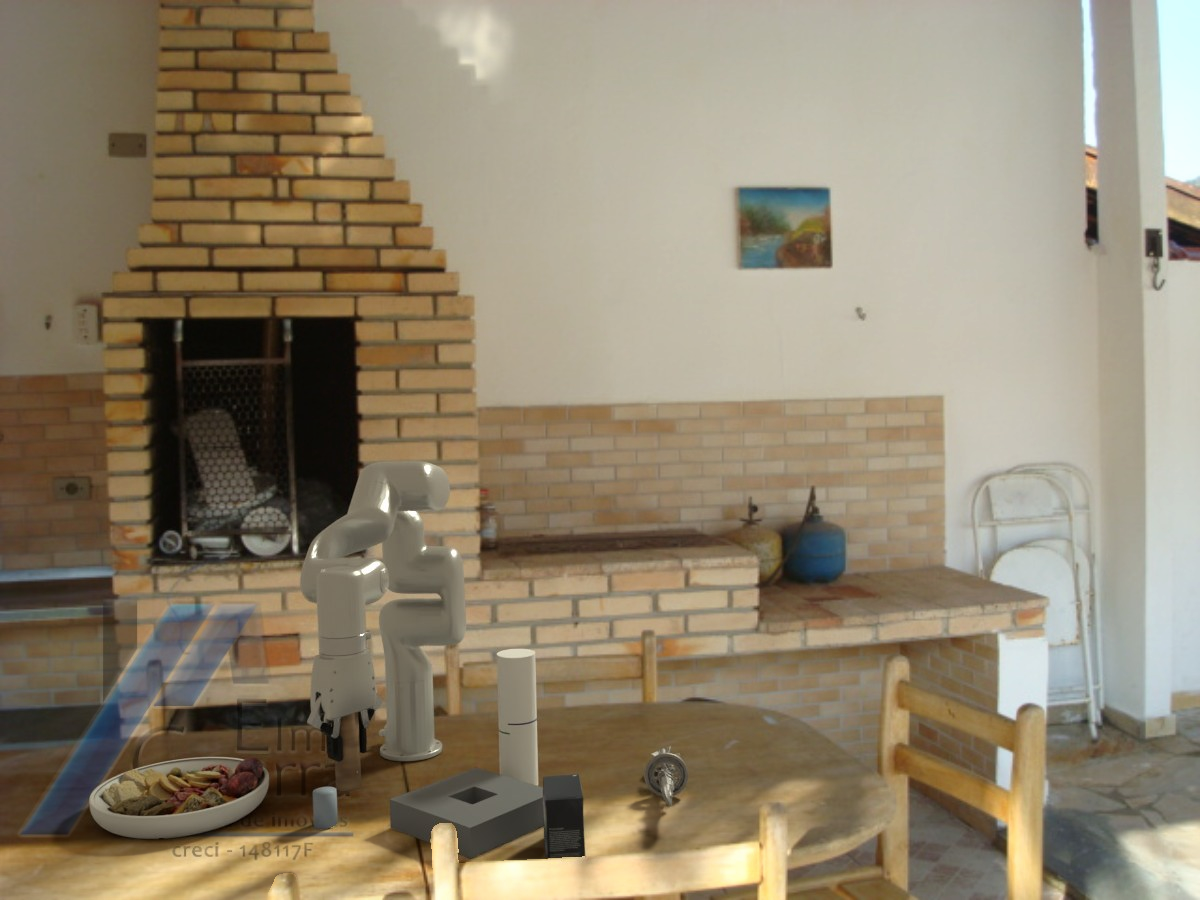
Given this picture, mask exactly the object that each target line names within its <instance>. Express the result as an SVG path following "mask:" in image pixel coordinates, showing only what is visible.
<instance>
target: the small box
mask: <svg viewBox="0 0 1200 900" xmlns="http://www.w3.org/2000/svg"><path fill="white" fill-rule="evenodd" d="M542 787H543V824H544V826H543V837H544V846H545V847H544V848H545V857H546V859H547V858H562V857H582V856H585V857H586V842H585V841H586V840H585V823H584V821H585V819H584V794H583V793H584V792H583V787H582V782H581V777H580V774H578V773H577V774H576V773H575V774H562V775H559V774H558V775H548V776H546V775H545V776H543V777H542Z"/></svg>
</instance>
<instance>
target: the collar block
mask: <svg viewBox="0 0 1200 900" xmlns="http://www.w3.org/2000/svg"><path fill="white" fill-rule="evenodd" d="M389 819H390V829H392V830H394V831H397V832H399V833H403V834H406V835H408V836H410V837H414V838H415V839H419V840H421V841H423V842H426V843H428V844H431V843H430V839H431V831H432V829H433V827H434V826H435V825H437V824H439V823H452V824H453V825H454V826H455V828H456V831H457V838H458V849H459V854H458V855H460V856H463V857H466V858H469V859H473V858H475V857H478V856H480V855H483V854H484V853H486V852H489V851H491V850H493V849H496V848H498V847H500V846H502V845H504V844H506V843H509V842H512V841H513V840H515V839H518V838H520V837H522V836H525V835H527V834H528V833H531V832H533V831H536V830H537V829H540V828H542V827H544V824H543V786H539V785H538V786H537V785H533V784H530V783H527V782H523V781H520V780H517V779H513V778H510V777H507V776H503V775H500V773H496V772H495V771H494V772H493V771H491V770H490V771H489V770H486V769H484V768H479V767H473V768H470V769H467V770H465V771H462V772H459V773H457V774H455V775H451V776H449V777H446V778H444V779H441V780H438V781H435V782H433V783H429V784H428V785H424V786H422V787H419V788H417V789H414V790H411V791H408V792H405V793H403V794H400V795H398V796H395V797H392V798H390V799H389Z"/></svg>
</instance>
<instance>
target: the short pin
mask: <svg viewBox="0 0 1200 900" xmlns="http://www.w3.org/2000/svg"><path fill="white" fill-rule="evenodd" d="M312 810H313V811H312V812H313V828H314V829H316V830H320V829H326V830H329V829H328V828H331V827H333V826H335V825H336V824H337V822H339V821H338V815H339V814H338V793H337V789H336V787H333V786H322V787H318V788H315V789H313V791H312ZM331 829H332V828H331Z"/></svg>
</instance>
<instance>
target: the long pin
mask: <svg viewBox="0 0 1200 900" xmlns="http://www.w3.org/2000/svg"><path fill="white" fill-rule="evenodd" d="M339 736H340V737H342V745H343V760H342V761H340V762H338V761H335V760H334V768H335V771H334V772H335V788H336V789H337V790H338V791H341V792H352V791H355V790H357V789H360V788H361V787H362V772H361V771H362V770H361V767H362V765H361V753H360V741H359V716H358V712H355V713H352V714H349V715H347V716H345V717H342V718H341V720H340V729H339Z"/></svg>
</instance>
